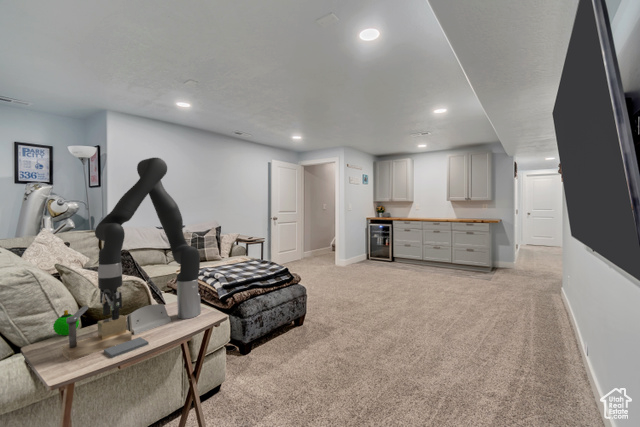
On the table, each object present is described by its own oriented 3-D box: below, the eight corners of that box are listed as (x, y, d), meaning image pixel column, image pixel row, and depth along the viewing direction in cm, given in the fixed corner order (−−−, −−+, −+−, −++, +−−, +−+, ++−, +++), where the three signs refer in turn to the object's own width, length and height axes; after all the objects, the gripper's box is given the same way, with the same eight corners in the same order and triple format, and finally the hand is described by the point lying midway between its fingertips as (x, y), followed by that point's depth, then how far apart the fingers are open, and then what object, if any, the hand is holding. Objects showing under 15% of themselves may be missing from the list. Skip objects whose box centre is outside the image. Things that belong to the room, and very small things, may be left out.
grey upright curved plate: (133, 335, 120) (128, 311, 121) (127, 337, 122) (122, 313, 123) (172, 321, 134) (166, 299, 136) (166, 322, 136) (160, 301, 138)
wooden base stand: (123, 335, 120) (122, 306, 120) (131, 340, 116) (130, 310, 115) (62, 354, 105) (61, 322, 104) (69, 361, 100) (68, 327, 100)
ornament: (82, 333, 122) (81, 309, 122) (57, 340, 116) (56, 315, 115) (75, 329, 127) (74, 305, 127) (50, 336, 120) (49, 311, 120)
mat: (140, 339, 116) (140, 337, 116) (148, 344, 112) (148, 341, 112) (103, 352, 106) (103, 349, 106) (111, 357, 102) (111, 355, 102)
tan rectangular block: (122, 329, 118) (121, 314, 118) (126, 332, 116) (125, 316, 116) (98, 337, 112) (97, 320, 111) (102, 339, 109) (101, 323, 109)
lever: (75, 322, 103) (75, 318, 103) (65, 324, 102) (64, 319, 102) (90, 308, 117) (90, 304, 117) (81, 309, 116) (80, 305, 116)
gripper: (129, 275, 112) (129, 318, 112) (114, 271, 120) (114, 310, 121) (105, 279, 106) (106, 324, 106) (91, 274, 114) (92, 316, 115)
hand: (110, 317), depth 113 cm, fingers open, 8 cm apart
